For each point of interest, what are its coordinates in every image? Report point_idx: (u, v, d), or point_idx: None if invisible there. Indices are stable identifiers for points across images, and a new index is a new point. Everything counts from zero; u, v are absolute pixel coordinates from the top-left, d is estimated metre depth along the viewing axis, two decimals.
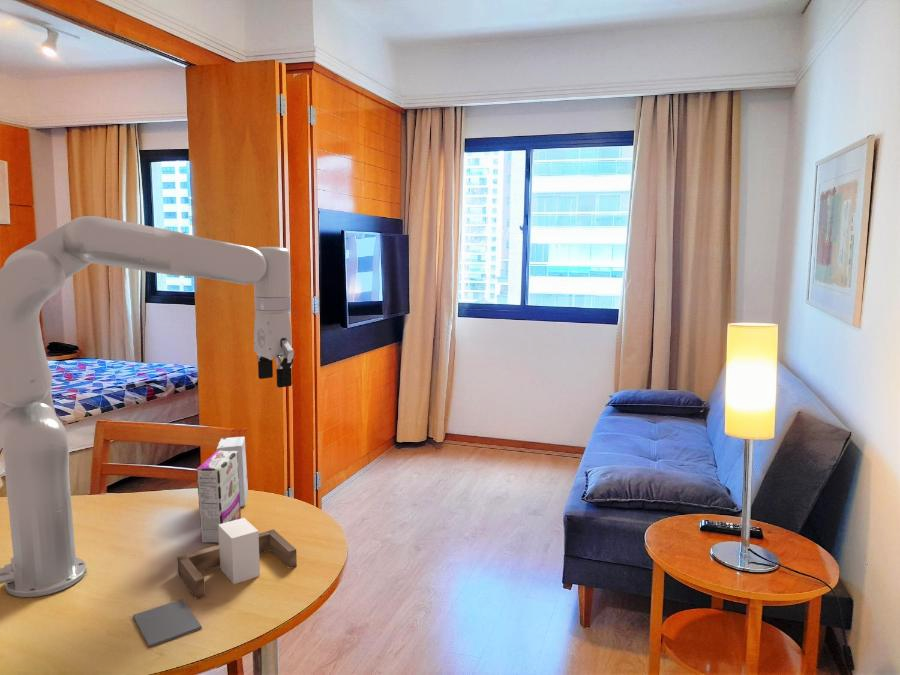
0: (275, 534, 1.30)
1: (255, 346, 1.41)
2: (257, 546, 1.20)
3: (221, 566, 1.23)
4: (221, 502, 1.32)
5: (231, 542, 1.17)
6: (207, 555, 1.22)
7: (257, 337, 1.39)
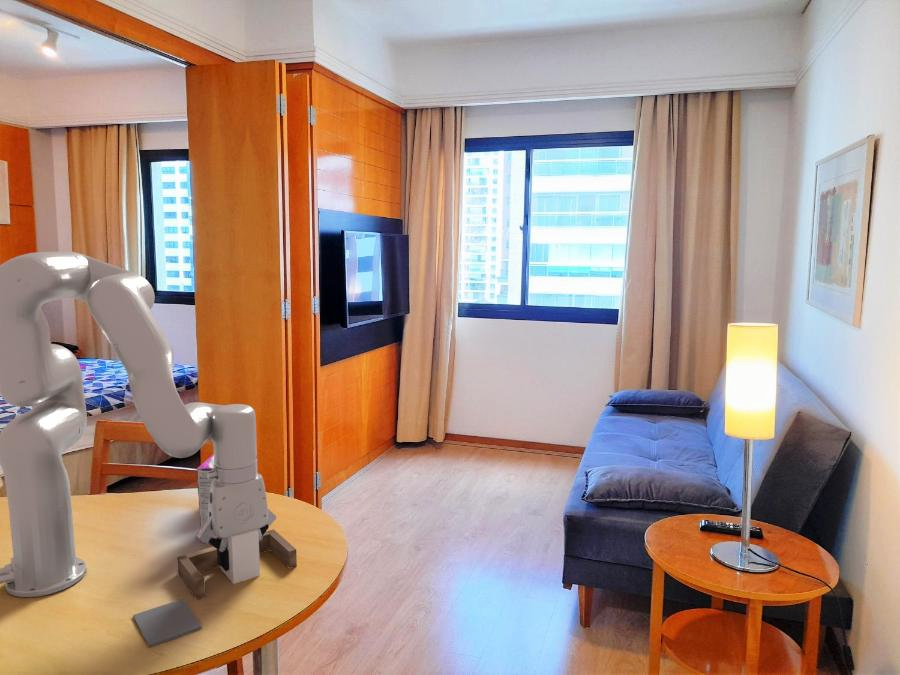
0: (275, 534, 1.30)
1: (224, 529, 1.16)
2: (257, 546, 1.20)
3: (221, 566, 1.23)
4: None
5: (231, 542, 1.17)
6: (207, 555, 1.22)
7: (232, 516, 1.17)
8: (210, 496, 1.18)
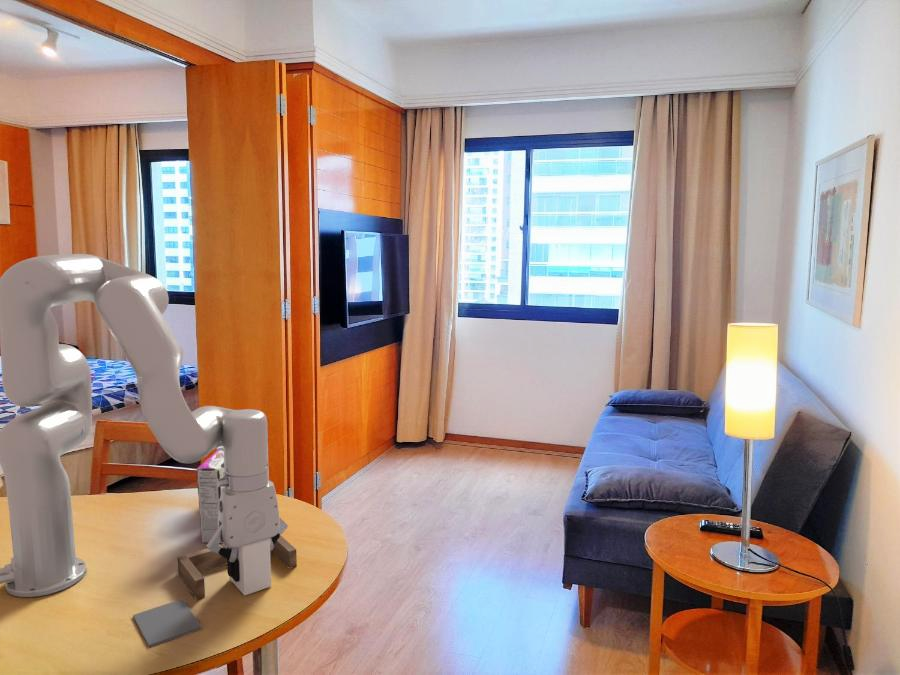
0: None
1: (235, 539, 1.12)
2: (268, 556, 1.16)
3: None
4: None
5: (241, 552, 1.13)
6: (207, 555, 1.22)
7: (242, 525, 1.13)
8: (220, 504, 1.13)
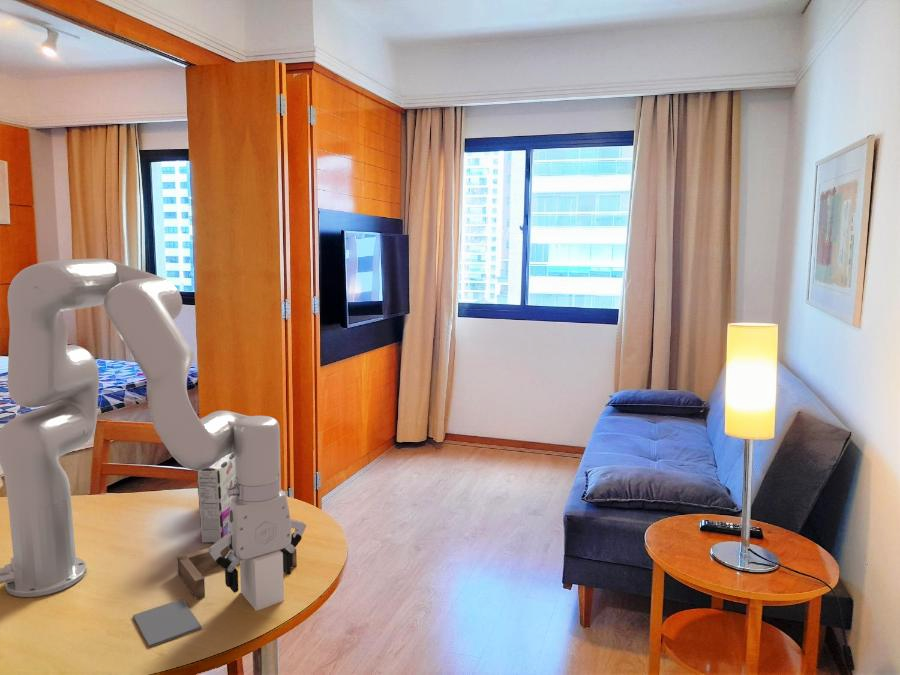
0: None
1: (246, 551, 1.08)
2: (281, 569, 1.12)
3: (242, 590, 1.14)
4: (221, 502, 1.32)
5: (253, 566, 1.09)
6: (207, 555, 1.22)
7: (253, 536, 1.09)
8: (230, 514, 1.09)
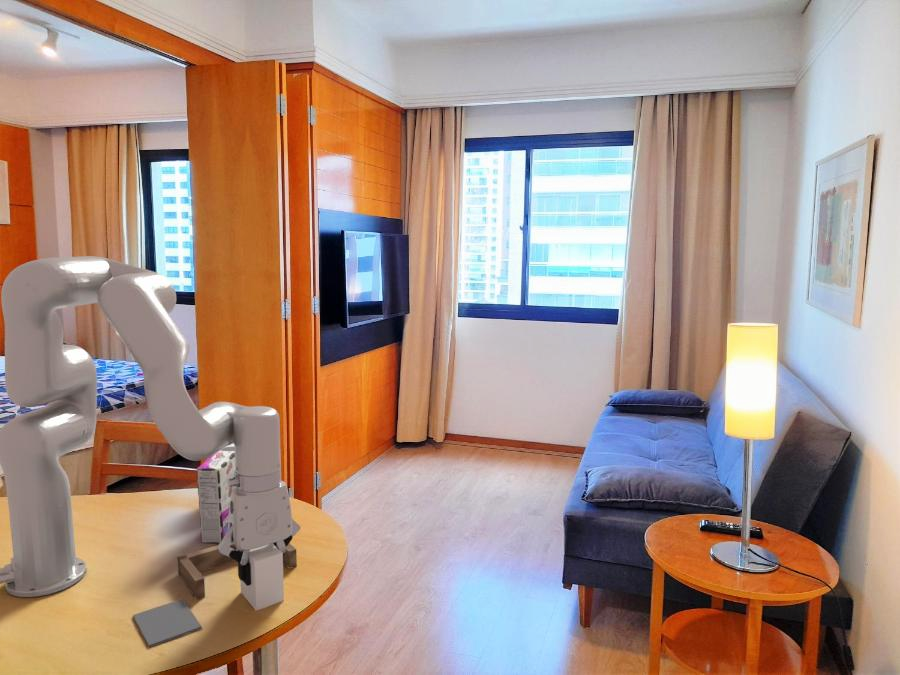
0: None
1: (246, 541, 1.08)
2: (281, 569, 1.12)
3: (242, 590, 1.14)
4: (221, 502, 1.32)
5: (253, 566, 1.09)
6: (207, 555, 1.22)
7: (254, 527, 1.08)
8: (231, 505, 1.09)
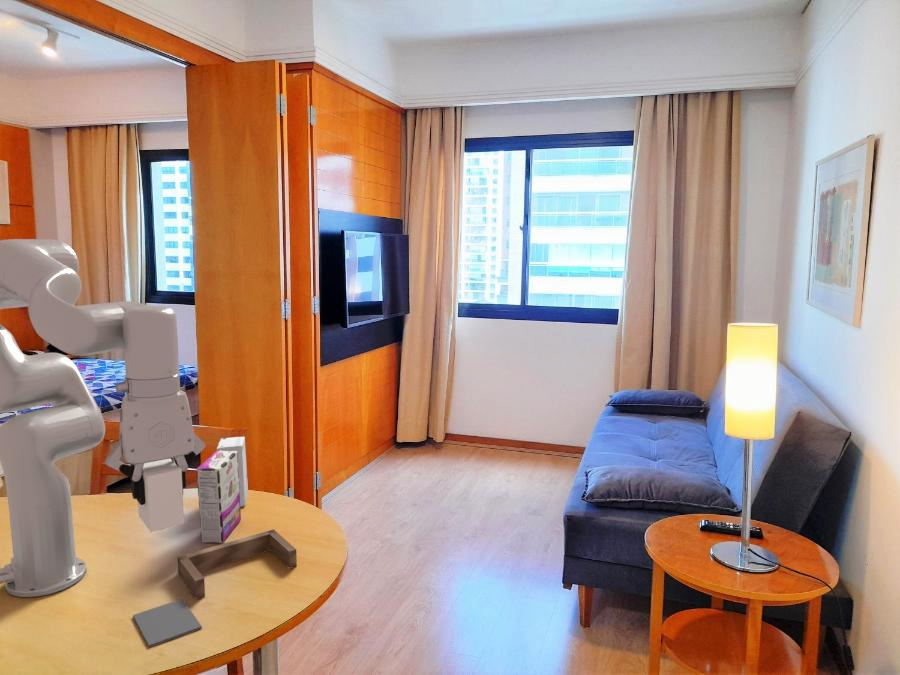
0: (275, 534, 1.30)
1: (137, 453, 0.97)
2: (180, 488, 1.01)
3: (139, 513, 1.03)
4: (221, 502, 1.32)
5: (146, 482, 0.98)
6: (207, 555, 1.22)
7: (146, 438, 0.97)
8: (121, 414, 0.98)
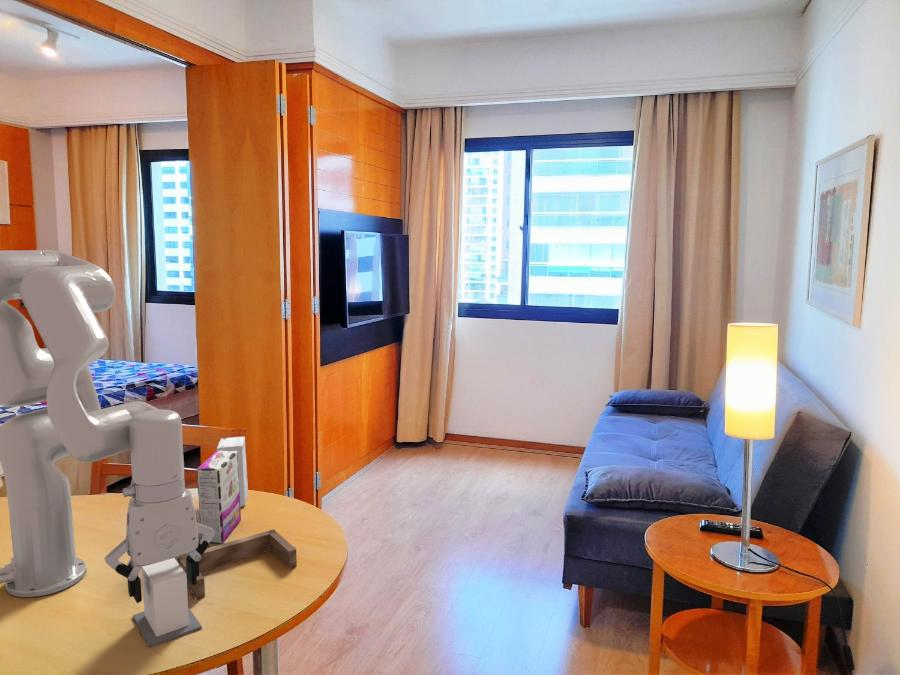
0: (275, 534, 1.30)
1: (143, 556, 0.99)
2: (185, 591, 1.04)
3: (145, 613, 1.06)
4: (221, 502, 1.32)
5: (152, 589, 1.01)
6: (207, 555, 1.22)
7: (152, 540, 1.00)
8: (128, 517, 1.01)
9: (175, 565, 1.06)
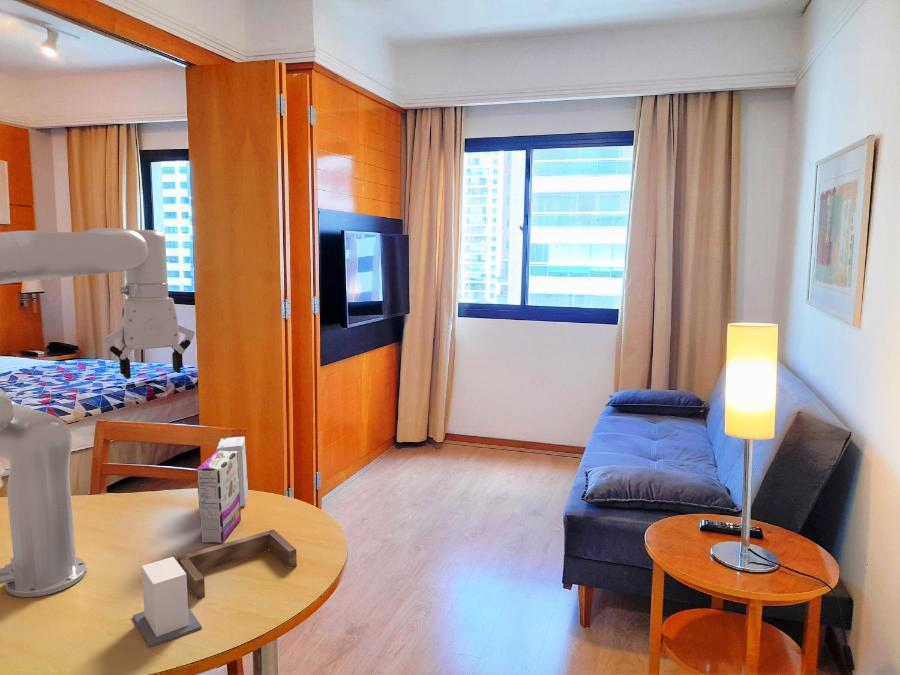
0: (275, 534, 1.30)
1: (135, 341, 1.27)
2: (185, 591, 1.04)
3: (145, 613, 1.06)
4: (221, 502, 1.32)
5: (152, 589, 1.01)
6: (207, 555, 1.22)
7: (142, 329, 1.27)
8: (123, 312, 1.28)
9: (175, 565, 1.06)
